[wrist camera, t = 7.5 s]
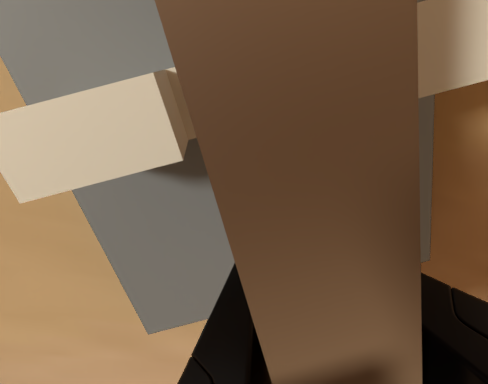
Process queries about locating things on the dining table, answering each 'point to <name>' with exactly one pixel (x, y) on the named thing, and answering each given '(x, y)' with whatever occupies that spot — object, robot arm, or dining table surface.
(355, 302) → the brown flat block
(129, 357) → the dining table surface
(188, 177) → the slotted base
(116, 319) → the dining table surface
